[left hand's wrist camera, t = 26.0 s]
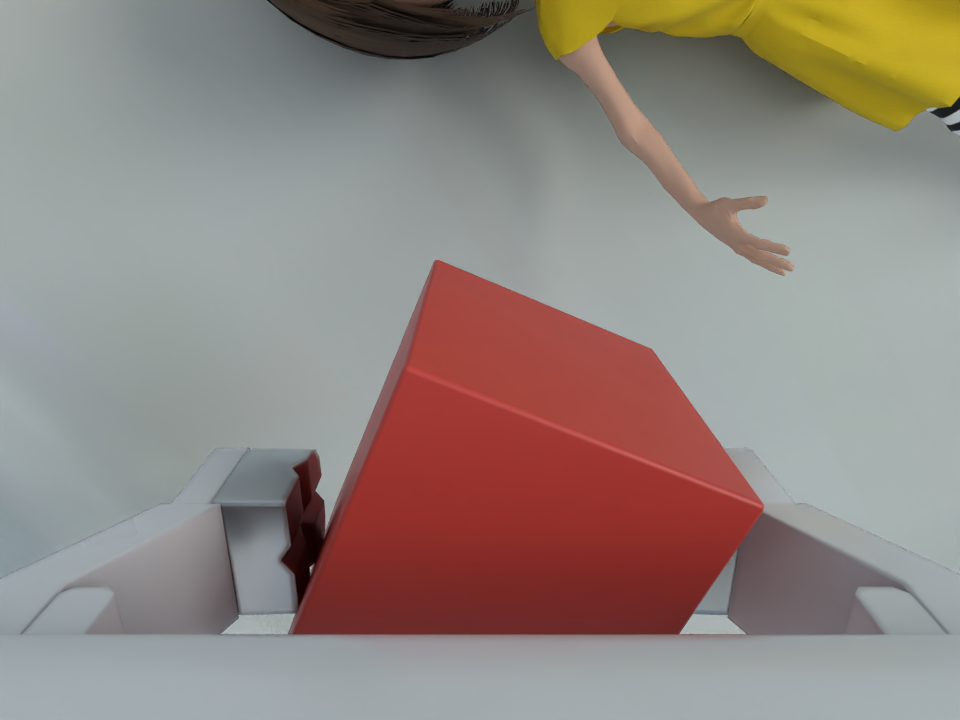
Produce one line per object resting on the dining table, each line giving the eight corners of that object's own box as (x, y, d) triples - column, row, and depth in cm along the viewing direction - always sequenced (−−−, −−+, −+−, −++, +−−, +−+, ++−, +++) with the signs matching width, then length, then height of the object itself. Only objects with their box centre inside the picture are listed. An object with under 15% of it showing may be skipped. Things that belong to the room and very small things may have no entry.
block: (653, 348, 11) (768, 507, 7) (531, 569, 13) (559, 813, 8) (435, 257, 11) (403, 364, 6) (336, 500, 12) (255, 722, 8)
